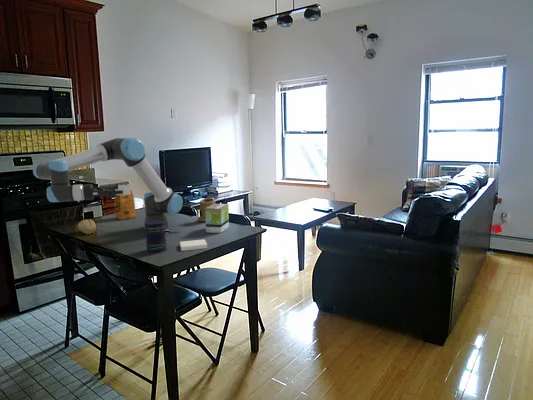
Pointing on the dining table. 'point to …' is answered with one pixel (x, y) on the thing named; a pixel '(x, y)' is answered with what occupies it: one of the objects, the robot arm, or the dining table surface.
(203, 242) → the tile
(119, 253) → the dining table surface
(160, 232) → the storage jar
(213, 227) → the tea box
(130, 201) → the coffee package
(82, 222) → the bread roll
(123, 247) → the dining table surface
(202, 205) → the stone cup
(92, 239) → the dining table surface
